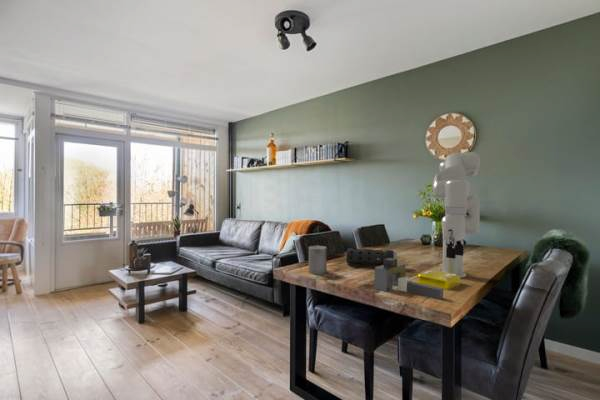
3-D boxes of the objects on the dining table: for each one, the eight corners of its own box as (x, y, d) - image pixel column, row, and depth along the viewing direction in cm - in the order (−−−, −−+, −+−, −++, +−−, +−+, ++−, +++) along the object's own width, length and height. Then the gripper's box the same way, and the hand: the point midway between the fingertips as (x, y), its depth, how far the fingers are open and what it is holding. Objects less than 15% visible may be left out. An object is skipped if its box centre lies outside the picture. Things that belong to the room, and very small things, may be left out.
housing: (393, 281, 149) (393, 255, 149) (405, 284, 145) (405, 257, 144) (374, 288, 138) (374, 260, 137) (386, 291, 133) (386, 262, 133)
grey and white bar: (402, 288, 139) (402, 277, 139) (443, 297, 126) (443, 285, 126) (397, 289, 136) (398, 278, 136) (439, 300, 123) (439, 287, 123)
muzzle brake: (348, 263, 189) (348, 246, 188) (396, 266, 180) (396, 249, 180) (346, 266, 179) (346, 249, 179) (396, 270, 171) (396, 252, 171)
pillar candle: (314, 269, 173) (314, 242, 172) (330, 271, 167) (329, 244, 167) (305, 273, 165) (304, 245, 164) (320, 275, 159) (320, 246, 159)
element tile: (430, 277, 158) (430, 268, 157) (461, 284, 146) (461, 274, 146) (416, 283, 148) (416, 273, 147) (448, 290, 136) (448, 280, 136)
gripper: (453, 210, 129) (453, 252, 129) (436, 212, 117) (436, 258, 117) (473, 211, 124) (472, 255, 124) (457, 212, 112) (456, 261, 112)
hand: (455, 256), depth 121 cm, fingers open, 7 cm apart
